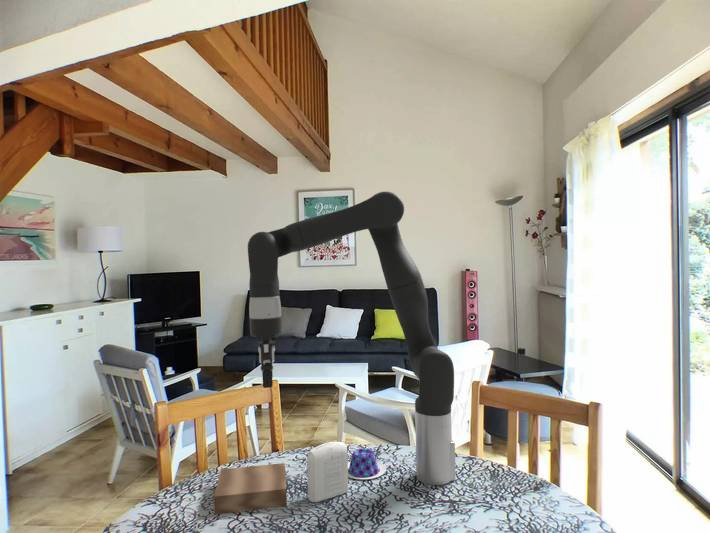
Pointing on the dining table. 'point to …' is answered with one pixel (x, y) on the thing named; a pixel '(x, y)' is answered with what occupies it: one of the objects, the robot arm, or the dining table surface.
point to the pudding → (365, 465)
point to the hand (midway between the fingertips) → (268, 382)
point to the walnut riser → (250, 488)
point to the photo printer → (327, 471)
